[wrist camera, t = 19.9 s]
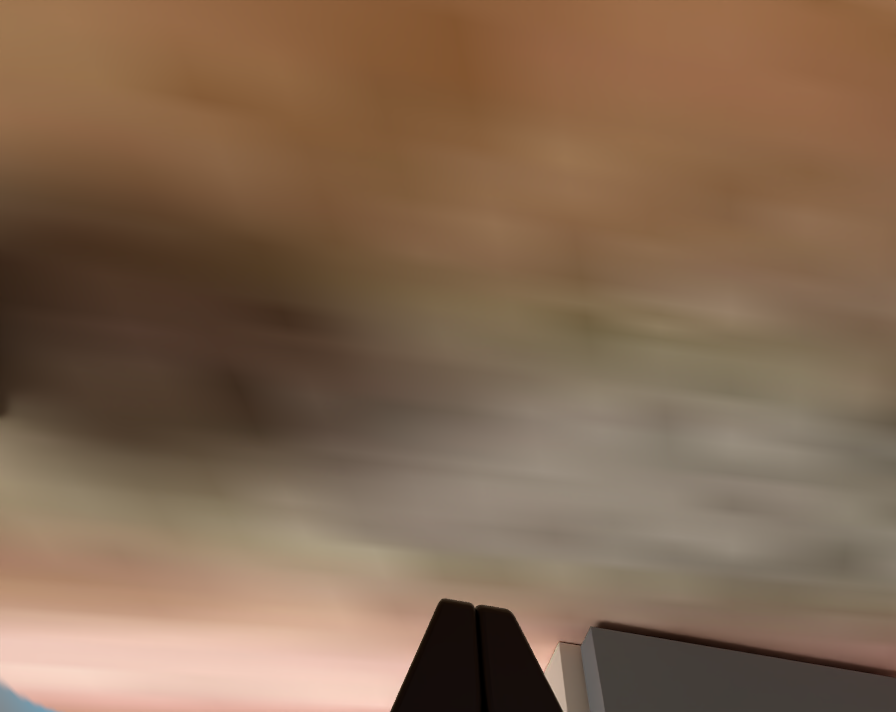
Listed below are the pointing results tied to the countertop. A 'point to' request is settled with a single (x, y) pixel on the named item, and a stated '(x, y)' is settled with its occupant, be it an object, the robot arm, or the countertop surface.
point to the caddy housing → (568, 678)
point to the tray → (718, 679)
